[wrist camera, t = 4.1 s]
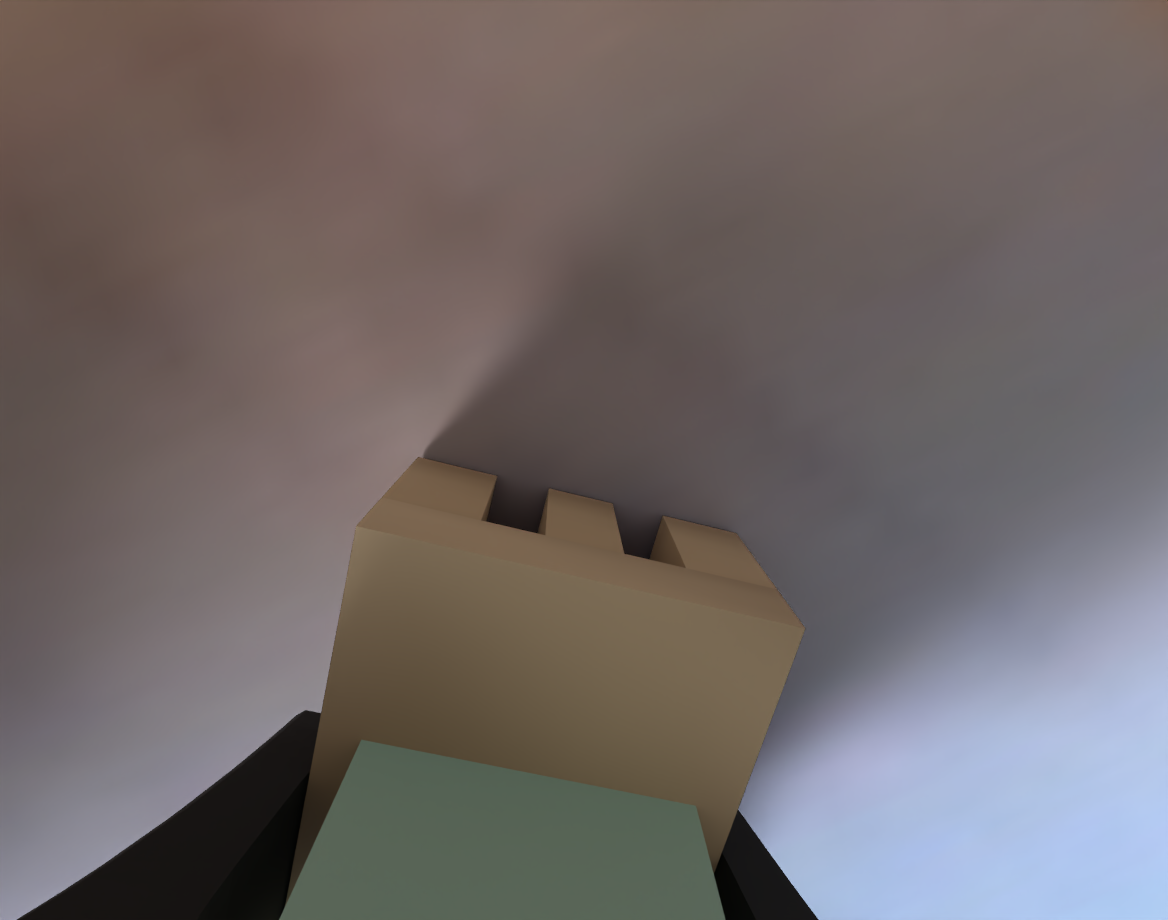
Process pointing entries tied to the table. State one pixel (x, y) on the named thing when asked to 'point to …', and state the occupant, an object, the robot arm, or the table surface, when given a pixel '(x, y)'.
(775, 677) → the pallet
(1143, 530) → the table surface
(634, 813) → the green block
